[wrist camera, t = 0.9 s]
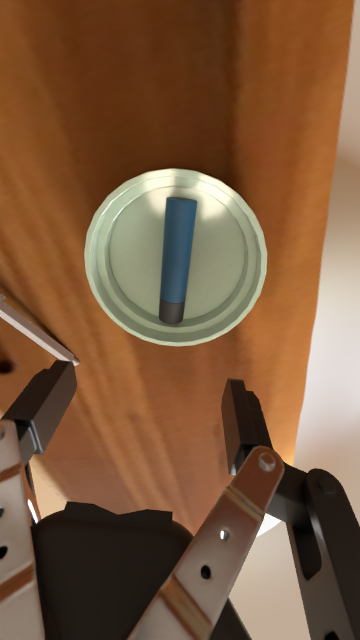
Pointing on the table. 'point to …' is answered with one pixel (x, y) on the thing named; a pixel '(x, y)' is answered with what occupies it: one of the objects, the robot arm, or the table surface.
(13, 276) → the table surface
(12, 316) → the caliper
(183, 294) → the marker
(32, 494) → the robot arm
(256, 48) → the table surface
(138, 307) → the bowl
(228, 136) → the table surface
